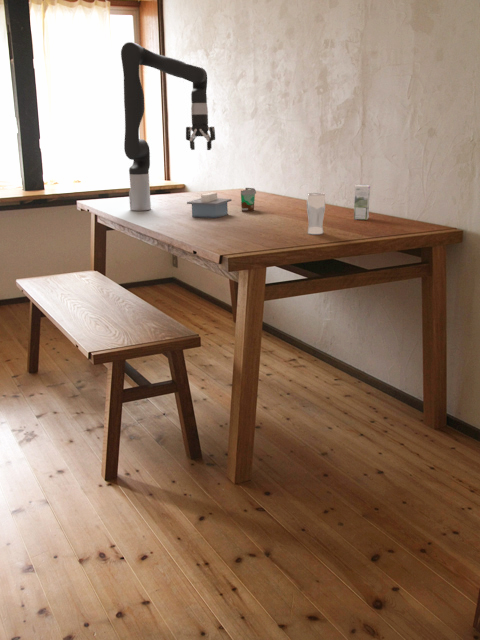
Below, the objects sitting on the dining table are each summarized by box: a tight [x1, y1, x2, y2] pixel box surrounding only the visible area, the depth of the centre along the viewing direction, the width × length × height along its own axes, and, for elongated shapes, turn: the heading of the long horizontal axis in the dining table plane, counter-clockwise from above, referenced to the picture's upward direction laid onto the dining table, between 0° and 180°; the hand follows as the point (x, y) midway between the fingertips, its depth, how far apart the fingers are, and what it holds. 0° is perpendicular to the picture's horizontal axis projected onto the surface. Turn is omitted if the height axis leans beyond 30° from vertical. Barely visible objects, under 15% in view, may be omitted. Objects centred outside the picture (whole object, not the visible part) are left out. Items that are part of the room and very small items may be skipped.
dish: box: [191, 202, 229, 219], centre depth 290 cm, size 12×12×6 cm
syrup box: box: [353, 183, 371, 221], centre depth 272 cm, size 6×6×14 cm
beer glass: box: [306, 192, 326, 236], centre depth 243 cm, size 7×7×15 cm
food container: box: [240, 187, 257, 213], centre depth 303 cm, size 12×6×10 cm, turn 168°
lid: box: [186, 192, 232, 205], centre depth 289 cm, size 15×15×4 cm
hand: (200, 149), depth 299 cm, fingers open, 8 cm apart
